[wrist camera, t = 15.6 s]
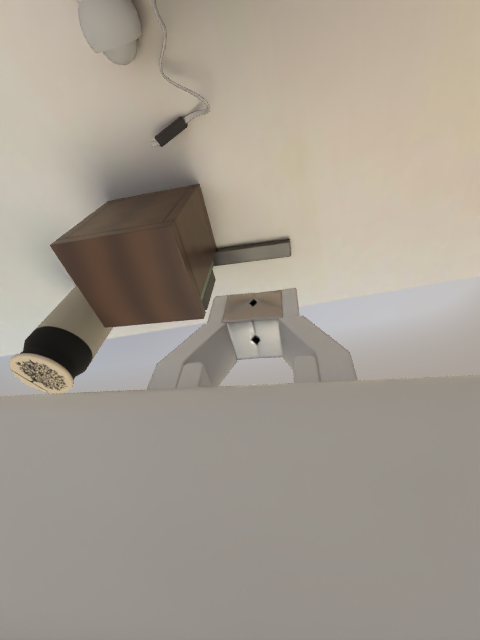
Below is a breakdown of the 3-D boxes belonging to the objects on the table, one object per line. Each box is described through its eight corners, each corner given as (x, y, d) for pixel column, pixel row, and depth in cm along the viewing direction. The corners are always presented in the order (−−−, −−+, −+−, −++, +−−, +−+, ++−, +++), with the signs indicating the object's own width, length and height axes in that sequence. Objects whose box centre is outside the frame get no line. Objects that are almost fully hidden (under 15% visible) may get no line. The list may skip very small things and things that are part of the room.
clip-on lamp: (235, 112, 33) (173, -201, 19) (238, 133, 29) (163, -242, 15) (142, 139, 34) (21, -131, 20) (132, 162, 31) (-25, -152, 17)
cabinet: (283, 167, 33) (287, 206, 24) (290, 253, 40) (296, 310, 31) (107, 201, 38) (49, 245, 28) (141, 272, 45) (104, 328, 35)
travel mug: (107, 265, 45) (35, 347, 31) (138, 302, 49) (87, 388, 36) (72, 281, 47) (-9, 362, 34) (104, 315, 52) (45, 399, 38)
